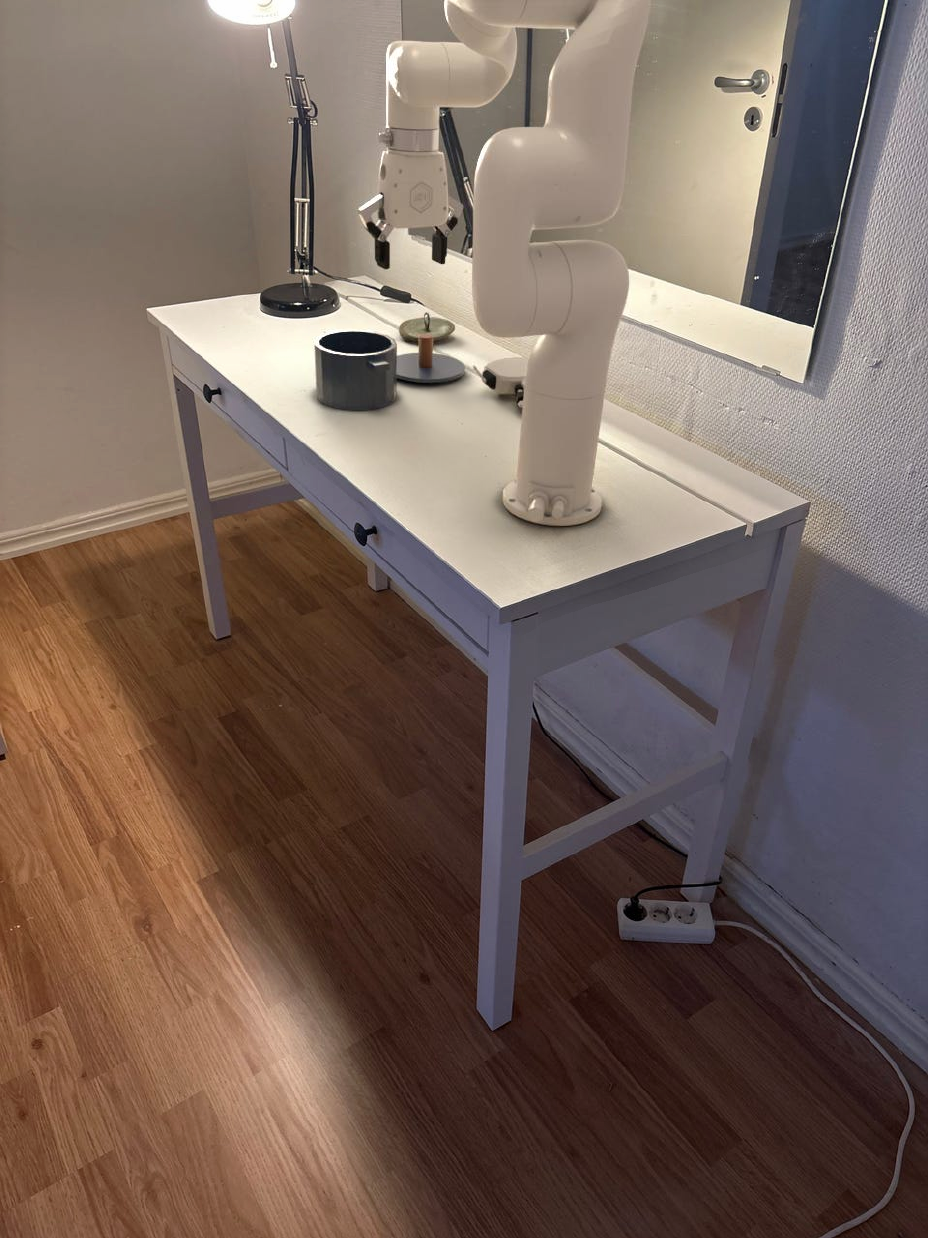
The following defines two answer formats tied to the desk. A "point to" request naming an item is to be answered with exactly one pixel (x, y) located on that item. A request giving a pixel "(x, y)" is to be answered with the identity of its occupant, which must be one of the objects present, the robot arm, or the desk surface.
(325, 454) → the desk surface
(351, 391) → the pot
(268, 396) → the desk surface
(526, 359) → the robot toy
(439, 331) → the lid
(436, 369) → the pot lid
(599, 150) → the robot arm
